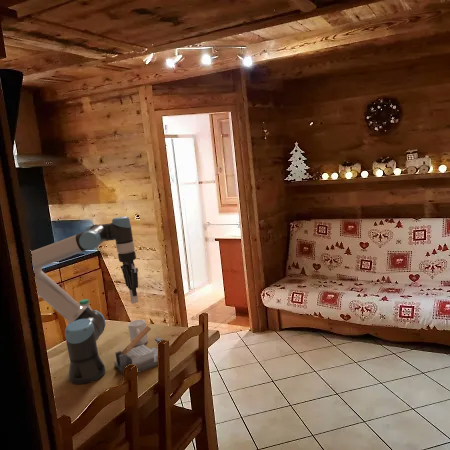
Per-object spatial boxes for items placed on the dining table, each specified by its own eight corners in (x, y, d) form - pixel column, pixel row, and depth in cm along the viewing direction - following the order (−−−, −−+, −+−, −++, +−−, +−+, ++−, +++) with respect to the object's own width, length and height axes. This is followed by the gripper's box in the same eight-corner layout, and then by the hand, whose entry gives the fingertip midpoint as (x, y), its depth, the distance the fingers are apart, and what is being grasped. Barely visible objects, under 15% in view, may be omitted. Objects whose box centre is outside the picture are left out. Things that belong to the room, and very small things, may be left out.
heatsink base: (126, 377, 186) (123, 359, 185) (114, 366, 198) (111, 349, 197) (170, 360, 197) (167, 342, 196) (156, 350, 209) (154, 334, 208)
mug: (149, 346, 214) (146, 326, 213) (131, 350, 213) (128, 330, 211) (147, 337, 226) (144, 318, 224) (130, 341, 224) (127, 321, 223)
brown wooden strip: (121, 359, 190) (120, 358, 190) (119, 357, 193) (117, 355, 193) (151, 329, 197) (150, 327, 197) (148, 327, 200) (146, 325, 199)
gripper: (140, 251, 195) (149, 302, 198) (127, 248, 205) (136, 297, 209) (124, 255, 190) (133, 307, 194) (112, 252, 201) (121, 302, 204)
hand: (134, 302), depth 201 cm, fingers closed
